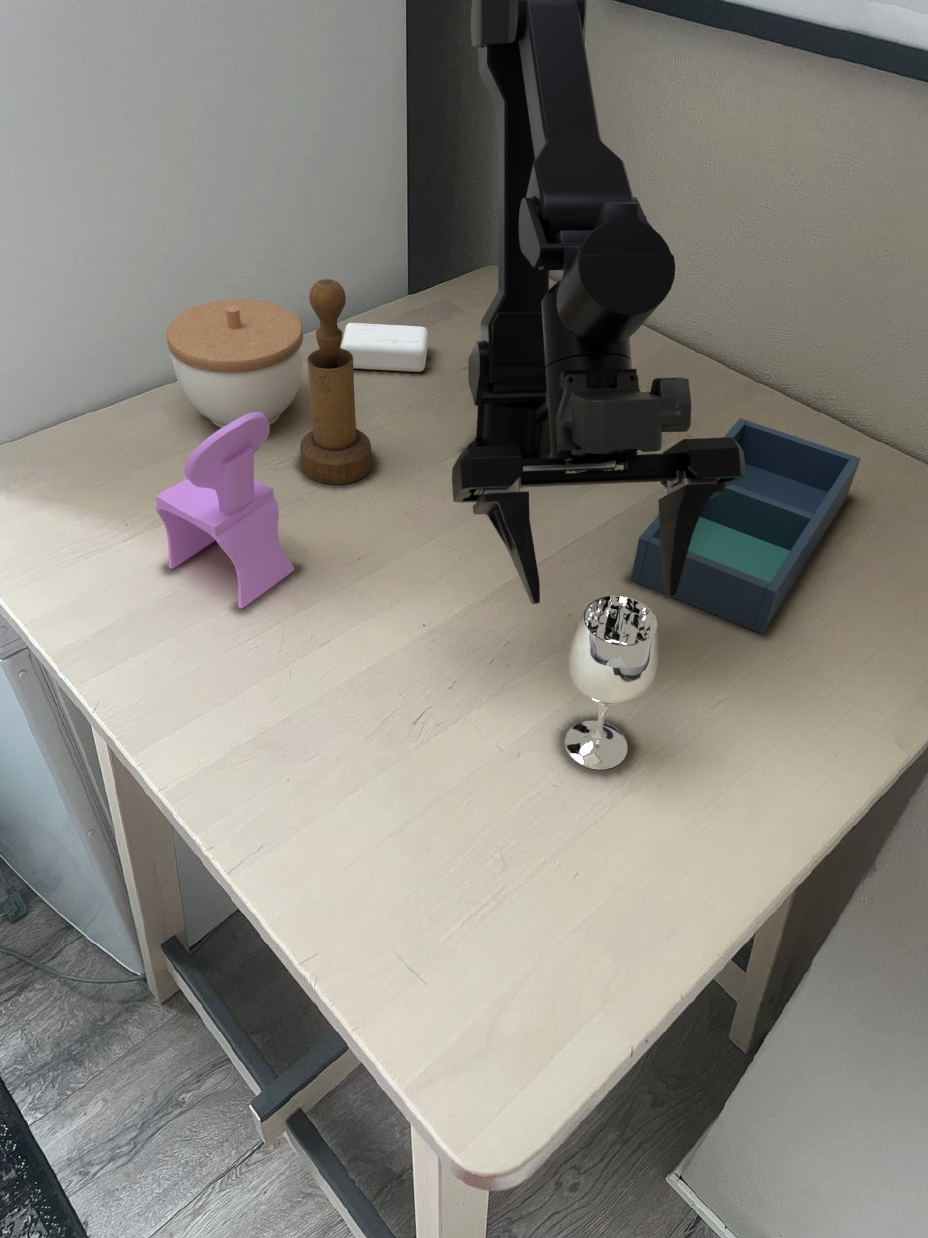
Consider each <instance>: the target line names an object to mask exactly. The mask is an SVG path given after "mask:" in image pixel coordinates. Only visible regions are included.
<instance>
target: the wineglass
mask: <svg viewBox="0 0 928 1238" xmlns="http://www.w3.org/2000/svg"><path fill="white" fill-rule="evenodd" d="M658 626H659V625H658V620H657V617H656V615H655V614H654V612H653V611H652V610H651V608H649V606H647V605H646V604H644V603H643V602H641V601H639V600H636V599H635V598H632V597H627V596H621V595H607V596H603V597H599V598H596V599H595V600H593V601H592V602H590V603H589V604H588V605H587V606H586V608H584V611H583V613H582V615H581V617H580V619H579V620H578V623H577V624H576V627H575V629H574V632H573V635H572V637H571V640H570V643H569V649H568V655H567V661H568V662H567V663H568V672H569V676H570V679H571V680H572V681H571V682H573V684H574V686H575V688H576V689H577V690H578V691H579V692H580V693H581V694H582V695H584V696H585V697H586V698H588V699H589V700H591V701H593V702H595V703H596V704H597V711H598V712H597V713H598V716H597V720H585V721H580V722H578V723H576V724H574V725H573V726H572V727H570V728H569V729H568V730H567V733H566V734H565V737H564V748H565V750H566V753H567V754H568V756H569V757H570V758H571V760H573V761H574V762H576V764H579V765H581V766H582V767H585V768H587V769H590V770H591V769H592V770H600V771H601V770H602V771H603V770H608V769H612V768H615V767H617V766H619V765H620V764H621V763H622V762H623V761H624V760H625V758H626V757H627V755H628V749H629V748H628V741H627V739H626V737H625V735H624V734H623V733H622V731H620V729H618V728H617V727H616V726H614V725H612V724H610V723H608V722H605V719H606V715H607V713H608V711H609V710H610V708H611V707H612V706H619V705H620V706H621V705H626V704H628V703H632V702H633V701H635V700H638V699H639V698H640V697H642V696H643V695H644V694H645V693H646V692H647V691H648V689H649V688H650V687H651V685H652V683H653V680H654V679H655V677H656V673H657V672H658V671H657V670H658V666H659V658H660V636H659V627H658Z"/></svg>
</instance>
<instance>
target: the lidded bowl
mask: <svg viewBox="0 0 928 1238" xmlns="http://www.w3.org/2000/svg"><path fill="white" fill-rule="evenodd" d="M165 334H166V341H167V346H168V349H169V352H170V357H171V362H172V365H173V369H174V373H175V377H176V379H177V383H178V385H179V387H180V390H181V391H182V393H183V395H184V396H185V398H186V399H187V401H188V402H189V404H190V405H191V406H192V407H193V408H194V409H195V410H196V411H197V412H198V413H199V414H200V415H202V416H204V417H205V418H206V419H208V420H210V422H211V423H212V424H213V425H215V426H216V427H218V428H219V429H221V428H223V427H224V426H226V425H228V424H229V423H231V422H233V421H235V420H236V419H238V418H240V417H242V416H244V415H246V414H249V413H253V412H261V413H263V414H264V415H265V416H266V418H267V420H268V422H269V426H271V425H273V424H274V423H276V422H277V421H278V420H279V419H280V417H281V415H282V413H284V412H285V410H287V408H289V406H290V405H291V404H292V402H293V401H294V399H295V397H296V395H297V394H298V392H299V389H300V385H301V381H302V376H303V367H304V348H303V341H304V330H303V323H302V322H301V320H300V318H299V317H298V316H297V315H296V314H295V313H294V312H293V311H291V310H290V309H288V308H287V307H284V306H283V305H279V304H277V303H273V302H270V301H266V300H261V299H252V298H251V299H250V298H229V299H219V300H214V301H209V302H205V303H201V304H198V305H195V306H192V307H190V308H188V309H186V310H184V311H183V312H181V313H179V314H178V315H176V317H174V318H173V319H172V321H171V322H170V323H169V325H168V327H167V329H166V333H165Z"/></svg>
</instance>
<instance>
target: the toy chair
mask: <svg viewBox="0 0 928 1238" xmlns="http://www.w3.org/2000/svg"><path fill="white" fill-rule="evenodd" d="M270 427H271V425H269V422H268V420H267V418H266V416H265V415H264V414H263V413H261V412H253V413H249V414H246V415H244V416H242V417H240V418H238V419H236V420H235V421H233V422H231V423H229V424H228V425H226V426H224V427H223V428H219V429H218V430H216V431H215V432H213V433H212V434H211V435H210V436H209V437H207V438H206V439H205V440H203V442H201V443H200V444H199V445H198V446H197V447H195V449H194V450H193V451H192V452H191V454H190V455H189V456H188V458H187V460H186V462H185V464H184V475H185V477H186V479H183V480H182V481H180V482H179V483H177V484H174V485H173V486H171V487H169V488H167V489H165V490H163V491H162V492H160V493H158V494H157V495H156V496H155V501H156V505H155V511H156V513H157V514H158V516H159V518H160V519H161V521H162V523H163V525H164V528H165V531H166V536H167V545H168V546H167V548H168V549H167V550H168V568H169V569H171V570H173V569H175V568H176V567H178V566H179V565H181V564H183V563H184V562H185V561H187V560H189V559H190V558H192V557H193V556H194V555H196V554H197V553H199V552H201V551H202V550H203V549H205V548H206V547H208V546H210V545H211V544H213V543H214V542H216V543H217V544H218V545H219V547H220V548H221V549H222V550H223V552H224V553H226V555H227V556H228V557H229V559H230V560H231V562H232V563H233V566H234V568H235V571H236V572H235V573H236V575H237V591H238V592H237V593H238V595H237V596H238V597H237V607H238V608H239V609H241V610H243V609H244V608H245V607H247V606H248V605H250V604H251V603H252V602H254V601H255V600H256V599H258V598H259V597H260V596H262V595H263V594H265V593H266V592H267V591H269V590H270V589H271V588H273V587H274V586H276V585H277V584H278V583H279V582H281V581H282V580H284V579H285V578H286V577H288V576H289V575H290V574H291V573H293V572H294V571H295V570H296V567H295V566H294V564H293V563H292V562H291V561H290V559H289V558H288V556H286V553H285V552H284V550H283V549H282V545H281V542H280V539H279V511H280V510H279V504H278V501H277V500H276V498H275V493H274V488H272V487H271V486H269V485H267V484H264V483H263V482H260V481H258V480H257V479H256V480H255V454H256V453H257V452H258V450H259V449H260V448H261V447H262V446H263V444H264V443H265V442H266V441H267V439H268V438H269V434H270Z"/></svg>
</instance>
